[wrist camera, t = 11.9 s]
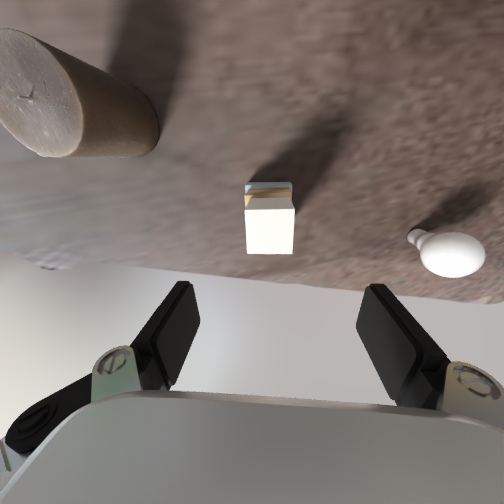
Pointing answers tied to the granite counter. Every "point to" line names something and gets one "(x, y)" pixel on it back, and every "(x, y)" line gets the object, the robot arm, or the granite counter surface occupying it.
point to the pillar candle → (69, 103)
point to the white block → (269, 225)
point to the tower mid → (268, 193)
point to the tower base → (266, 185)
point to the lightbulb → (448, 252)
